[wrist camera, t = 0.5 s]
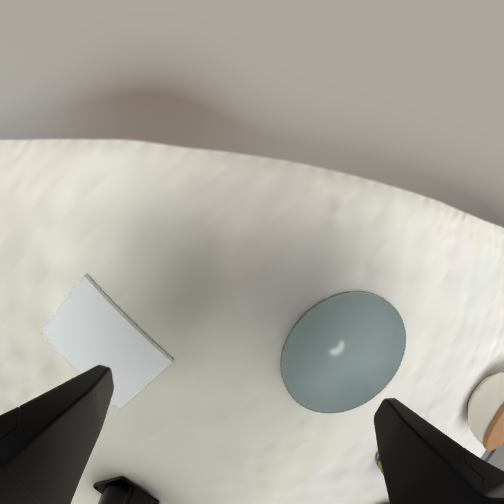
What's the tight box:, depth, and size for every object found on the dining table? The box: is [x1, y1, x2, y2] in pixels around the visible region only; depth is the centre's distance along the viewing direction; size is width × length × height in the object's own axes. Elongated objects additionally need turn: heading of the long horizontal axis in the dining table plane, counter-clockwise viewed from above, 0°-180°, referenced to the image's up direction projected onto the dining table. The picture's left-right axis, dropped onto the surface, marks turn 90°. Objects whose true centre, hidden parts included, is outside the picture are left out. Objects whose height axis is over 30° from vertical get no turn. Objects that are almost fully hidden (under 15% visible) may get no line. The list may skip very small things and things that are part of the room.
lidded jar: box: [467, 372, 504, 450], centre depth 23 cm, size 11×11×9 cm
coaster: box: [281, 291, 406, 413], centre depth 24 cm, size 12×12×1 cm
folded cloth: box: [42, 274, 173, 409], centre depth 22 cm, size 8×10×1 cm
